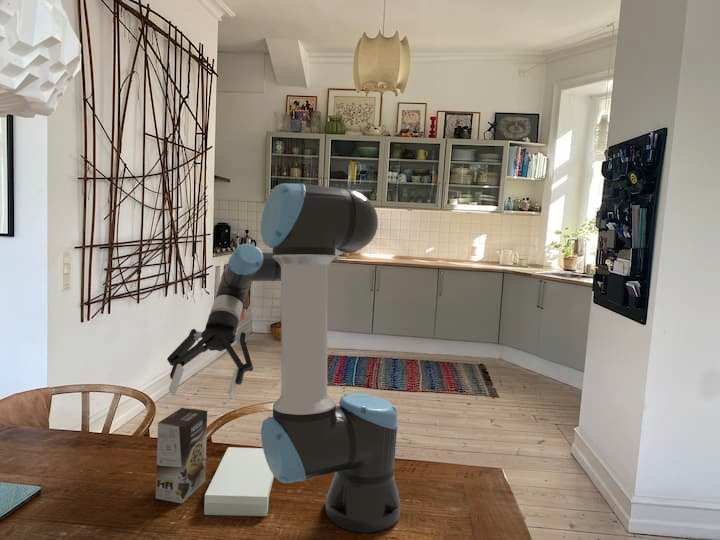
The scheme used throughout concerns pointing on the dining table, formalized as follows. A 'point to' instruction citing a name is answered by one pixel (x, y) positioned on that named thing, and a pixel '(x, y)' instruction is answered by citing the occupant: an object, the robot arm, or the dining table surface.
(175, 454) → the coffee box
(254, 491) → the shelf step
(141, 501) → the dining table surface
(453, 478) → the dining table surface
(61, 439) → the dining table surface
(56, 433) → the dining table surface
